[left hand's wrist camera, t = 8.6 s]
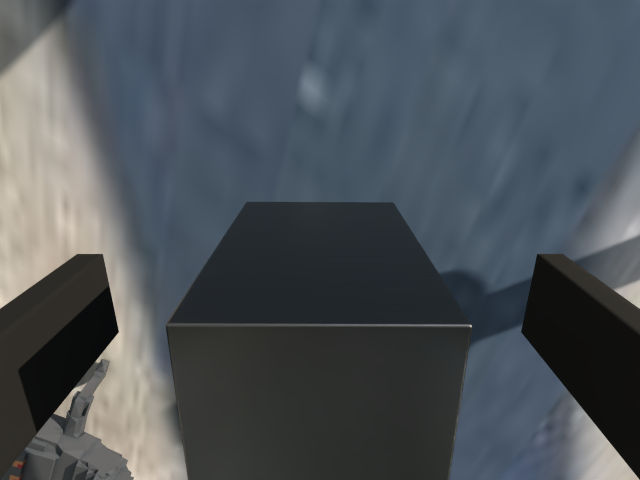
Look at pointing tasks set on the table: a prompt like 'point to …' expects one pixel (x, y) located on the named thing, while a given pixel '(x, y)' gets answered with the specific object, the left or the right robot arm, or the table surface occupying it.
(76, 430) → the toy
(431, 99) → the table surface
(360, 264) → the bar
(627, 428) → the left robot arm
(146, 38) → the table surface
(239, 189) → the table surface
